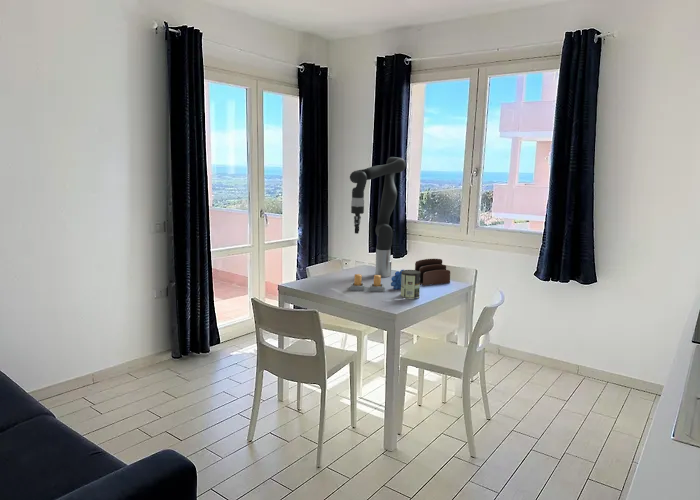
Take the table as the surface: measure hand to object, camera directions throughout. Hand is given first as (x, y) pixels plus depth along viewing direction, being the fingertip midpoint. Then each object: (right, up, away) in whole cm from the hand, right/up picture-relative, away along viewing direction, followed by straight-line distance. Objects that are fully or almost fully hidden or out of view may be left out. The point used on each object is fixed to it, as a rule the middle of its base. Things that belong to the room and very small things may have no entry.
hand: (356, 232), depth 305 cm
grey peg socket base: (+6, -34, -16) cm, 38 cm away
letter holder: (+46, -31, +8) cm, 56 cm away
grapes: (+24, -34, -12) cm, 43 cm away
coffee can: (+28, -36, -27) cm, 53 cm away
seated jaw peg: (+11, -33, -17) cm, 39 cm away
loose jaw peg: (0, -32, -16) cm, 36 cm away
